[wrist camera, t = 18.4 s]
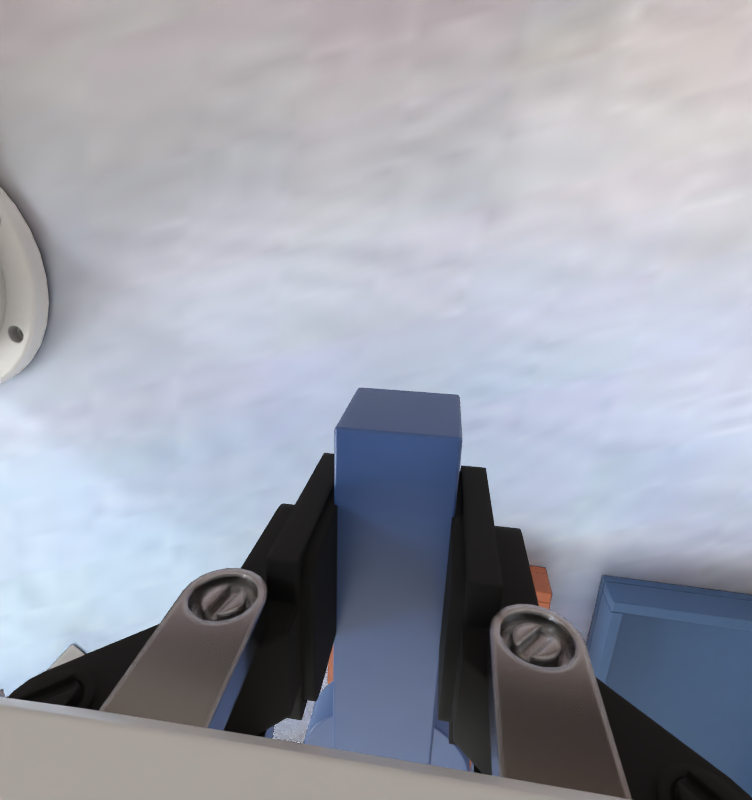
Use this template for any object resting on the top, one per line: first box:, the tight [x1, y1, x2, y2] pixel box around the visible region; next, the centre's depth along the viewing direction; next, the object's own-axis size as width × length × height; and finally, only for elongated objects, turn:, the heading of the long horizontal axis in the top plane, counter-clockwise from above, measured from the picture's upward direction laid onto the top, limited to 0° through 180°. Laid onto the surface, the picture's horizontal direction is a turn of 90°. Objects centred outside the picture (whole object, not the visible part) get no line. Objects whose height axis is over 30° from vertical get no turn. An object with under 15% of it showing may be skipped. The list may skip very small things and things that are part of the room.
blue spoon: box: [304, 388, 470, 772], centre depth 12 cm, size 12×4×2 cm, turn 178°
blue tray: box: [586, 575, 752, 798], centre depth 27 cm, size 17×11×2 cm, turn 177°
